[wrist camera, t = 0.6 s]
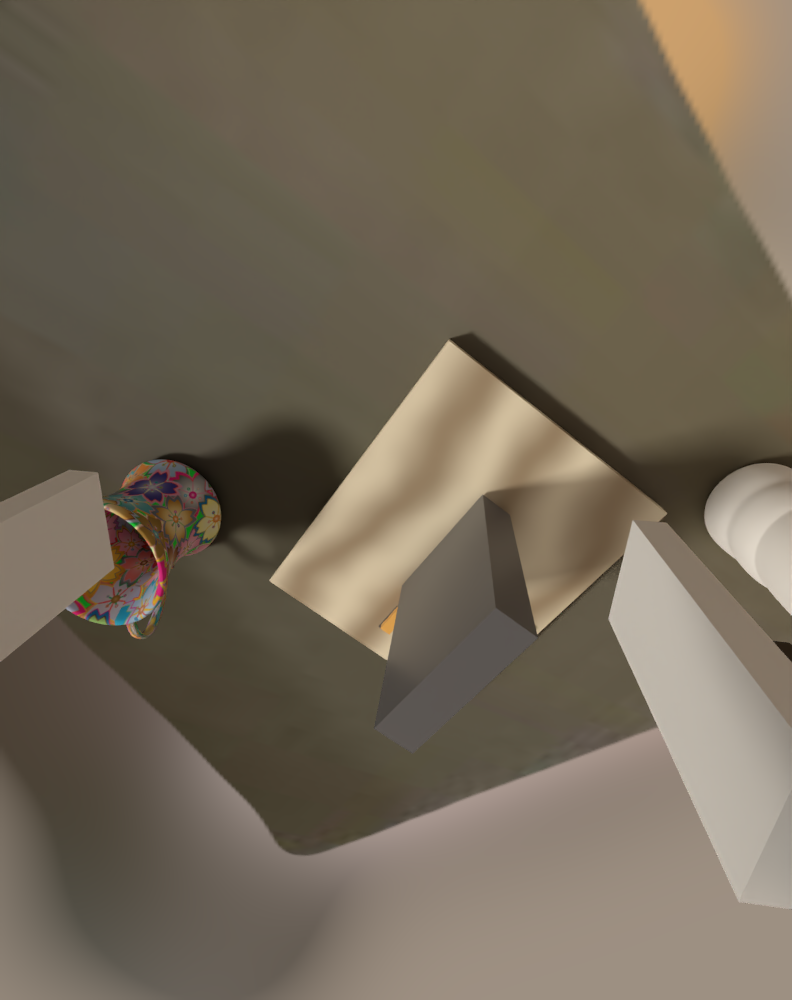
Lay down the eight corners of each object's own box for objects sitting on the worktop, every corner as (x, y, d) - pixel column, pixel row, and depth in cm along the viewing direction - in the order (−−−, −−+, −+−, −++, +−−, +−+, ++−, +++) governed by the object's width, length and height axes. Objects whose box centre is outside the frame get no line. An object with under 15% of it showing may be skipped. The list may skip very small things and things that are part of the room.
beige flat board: (275, 572, 45) (268, 581, 44) (449, 338, 37) (448, 340, 35) (457, 695, 48) (457, 709, 46) (660, 505, 39) (668, 514, 38)
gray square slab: (373, 617, 44) (333, 768, 30) (482, 494, 39) (495, 607, 25) (398, 634, 44) (370, 792, 30) (510, 514, 39) (538, 637, 25)
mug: (109, 454, 43) (6, 502, 33) (217, 447, 42) (142, 495, 32) (148, 582, 47) (66, 659, 37) (246, 580, 46) (188, 658, 36)
